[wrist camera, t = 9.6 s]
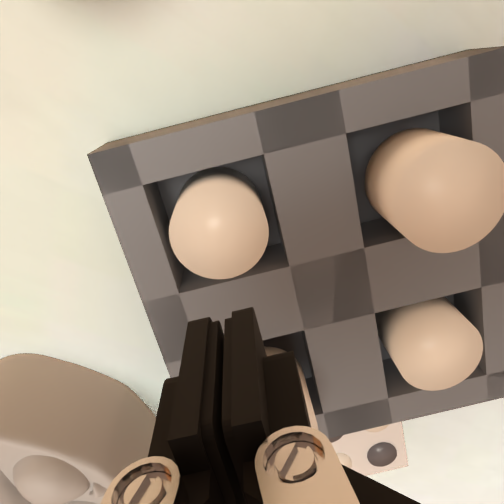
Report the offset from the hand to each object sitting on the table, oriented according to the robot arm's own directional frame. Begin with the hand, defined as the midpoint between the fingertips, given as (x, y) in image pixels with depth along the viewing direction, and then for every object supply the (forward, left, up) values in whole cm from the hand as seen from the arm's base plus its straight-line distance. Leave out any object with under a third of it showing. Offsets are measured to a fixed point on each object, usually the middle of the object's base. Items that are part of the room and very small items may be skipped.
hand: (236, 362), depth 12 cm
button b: (-9, +10, -16) cm, 21 cm away
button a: (-9, 0, -12) cm, 16 cm away
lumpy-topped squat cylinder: (+15, +13, -16) cm, 26 cm away
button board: (-4, +5, -16) cm, 17 cm away
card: (-4, +20, -16) cm, 26 cm away
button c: (+1, 0, -15) cm, 16 cm away
